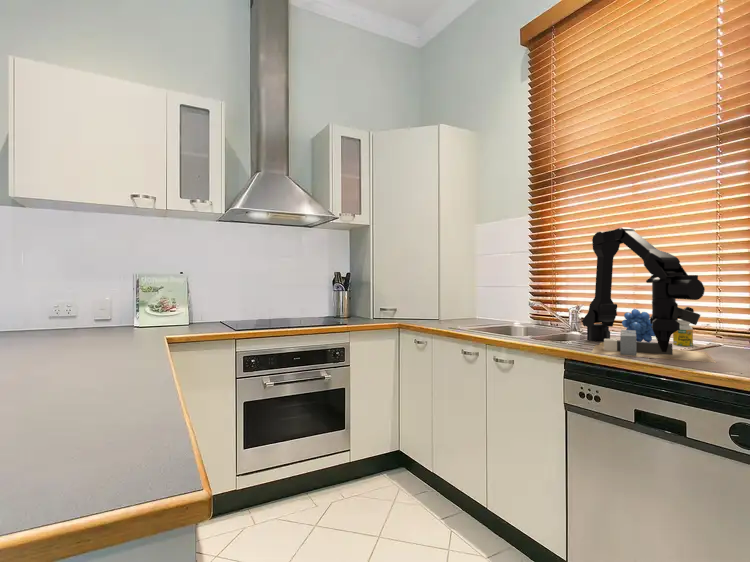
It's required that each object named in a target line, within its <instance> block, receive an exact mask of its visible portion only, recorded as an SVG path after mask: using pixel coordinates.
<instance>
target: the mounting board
mask: <svg viewBox="0 0 750 562" xmlns="http://www.w3.org/2000/svg"><path fill="white" fill-rule="evenodd" d="M591 354H597V355H608V356H609V355H611V356H622V357H623V356H624V357H632V356H631V355H620V351H606V350H604V346H600V344H595V345H594V347H593V349H592V351H591ZM633 357H634V358H650V359H664V360H676V361H690V362H701V363H702V362H703V363H704V362H705V363H715V364H717V361H716V360H715V359H714V358H713V357H712V356H710V355H709V353H707V351H697V350H696V351H693V350H680V349H673V355H668V354H654V353H640V352H636V356H633Z"/></svg>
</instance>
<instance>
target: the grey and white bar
mask: <svg viewBox="0 0 750 562" xmlns="http://www.w3.org/2000/svg"><path fill="white" fill-rule="evenodd" d="M599 345H600V346H604V350H606V351H620V340H619V339H618V338H610V339H604V342H599ZM673 350H674V349H673V343H670V342H669V344H668V348H667V352H662V350H661V348H660V346H659V343H658V342H654V341H653V342H652V341H650V342H646V341H641V342H639V341H636V352H640V353H654V354H668V355H673Z"/></svg>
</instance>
